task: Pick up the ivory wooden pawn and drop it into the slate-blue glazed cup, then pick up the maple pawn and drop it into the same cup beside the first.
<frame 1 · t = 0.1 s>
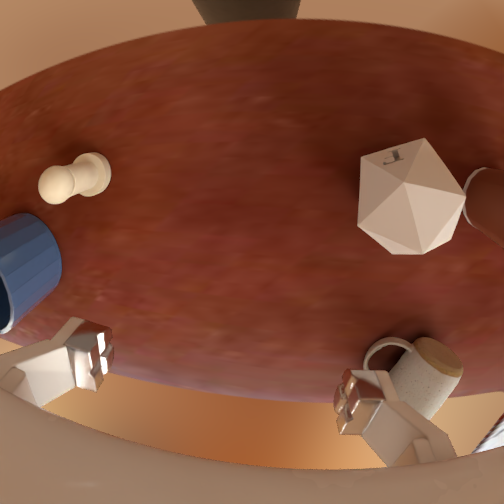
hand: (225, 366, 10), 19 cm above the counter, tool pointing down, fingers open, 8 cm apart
ceramic mug: (400, 359, 33), on the counter
cup: (29, 254, 30), on the counter
ivory pawn: (93, 173, 27), on the counter
die: (390, 189, 26), on the counter
coffee cup: (483, 197, 26), on the counter
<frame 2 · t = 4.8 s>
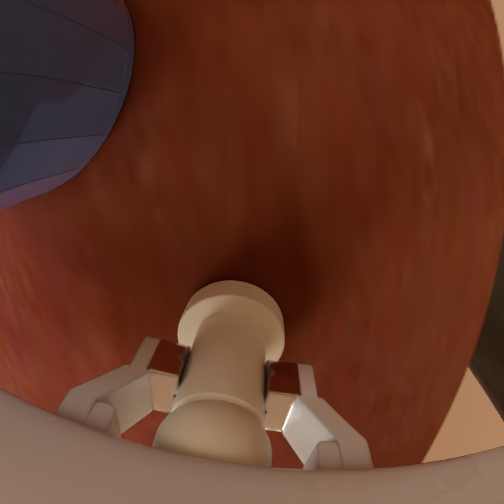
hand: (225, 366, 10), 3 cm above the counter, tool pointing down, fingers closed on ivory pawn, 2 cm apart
cup: (31, 79, 9), on the counter
ivory pawn: (233, 324, 13), on the counter, touching gripper
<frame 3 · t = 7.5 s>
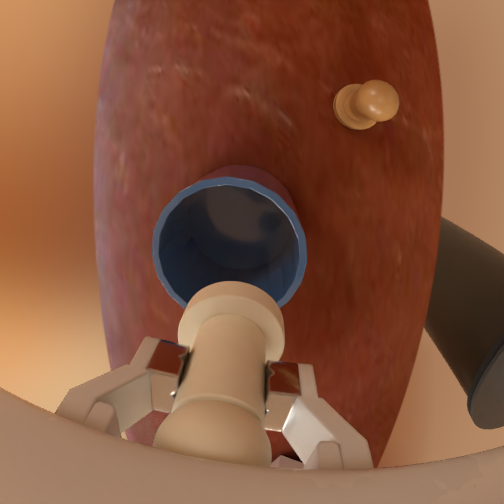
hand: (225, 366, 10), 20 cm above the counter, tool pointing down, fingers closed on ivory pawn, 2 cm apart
cup: (240, 220, 29), on the counter
ivory pawn: (233, 325, 13), point 17 cm above the counter, touching gripper
die: (287, 462, 42), on the counter
maple pawn: (355, 107, 25), on the counter
when the fingers open (10 cm above the counter, at t = 10.4 s): ivory pawn drops 6 cm, resting on cup.
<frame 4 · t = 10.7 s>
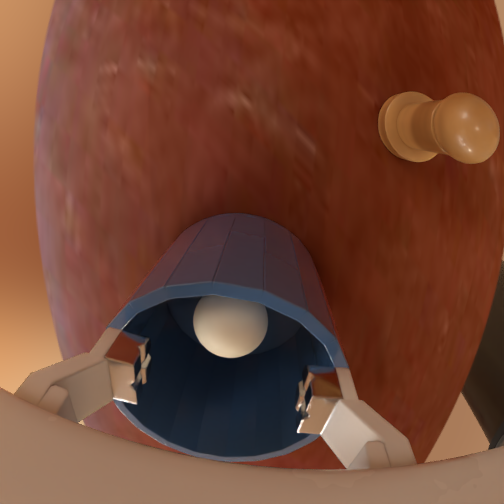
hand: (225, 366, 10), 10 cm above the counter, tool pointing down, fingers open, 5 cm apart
cup: (237, 291, 20), on the counter
ivory pawn: (243, 263, 19), point 1 cm above the counter, touching cup
maple pawn: (408, 126, 16), on the counter
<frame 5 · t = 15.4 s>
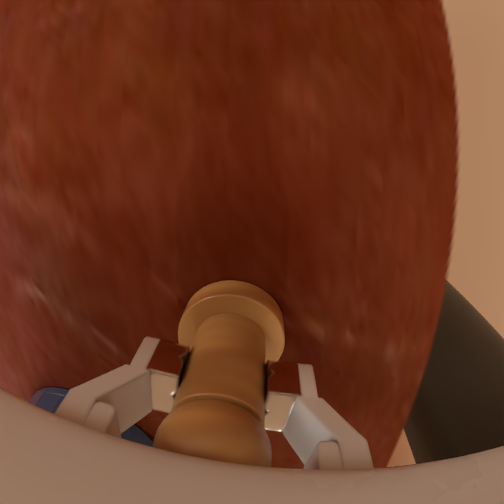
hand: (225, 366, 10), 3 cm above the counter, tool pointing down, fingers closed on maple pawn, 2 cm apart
cup: (92, 439, 17), on the counter
maple pawn: (233, 324, 13), on the counter, touching gripper
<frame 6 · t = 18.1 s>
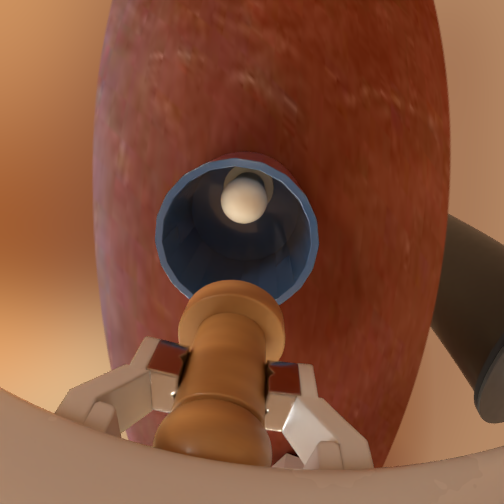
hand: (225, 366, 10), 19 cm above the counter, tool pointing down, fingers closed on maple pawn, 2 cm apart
cup: (244, 209, 28), on the counter
ivory pawn: (249, 185, 26), point 1 cm above the counter, touching cup
die: (293, 461, 41), on the counter
maple pawn: (233, 324, 13), point 16 cm above the counter, touching gripper
when the fingers open (10 cm above the counter, at t = 20.9 s): maple pawn drops 6 cm, resting on cup.
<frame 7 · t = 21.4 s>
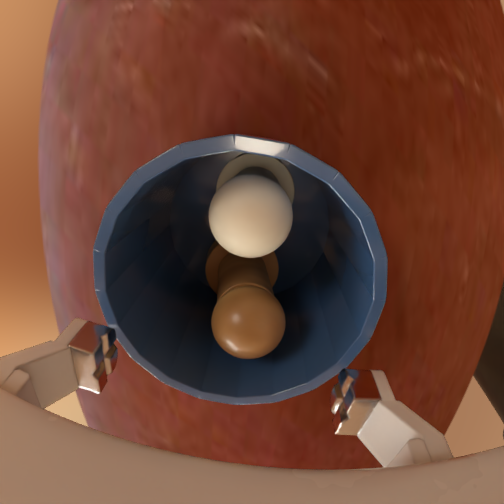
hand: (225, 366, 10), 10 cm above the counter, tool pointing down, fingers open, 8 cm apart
cup: (248, 222, 19), on the counter
ivory pawn: (255, 187, 17), point 1 cm above the counter, touching cup
maple pawn: (241, 262, 19), point 1 cm above the counter, tilted 7°, touching cup
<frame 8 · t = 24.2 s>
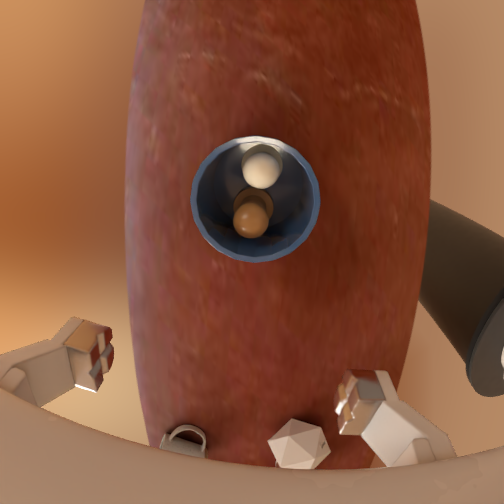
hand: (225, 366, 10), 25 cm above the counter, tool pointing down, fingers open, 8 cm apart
ceramic mug: (185, 438, 49), on the counter
cup: (258, 183, 33), on the counter
ivory pawn: (262, 163, 32), point 1 cm above the counter, touching cup
die: (297, 427, 46), on the counter
maple pawn: (253, 205, 33), point 1 cm above the counter, touching cup
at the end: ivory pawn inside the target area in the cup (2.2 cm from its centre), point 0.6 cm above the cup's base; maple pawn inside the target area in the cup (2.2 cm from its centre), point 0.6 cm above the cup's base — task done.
